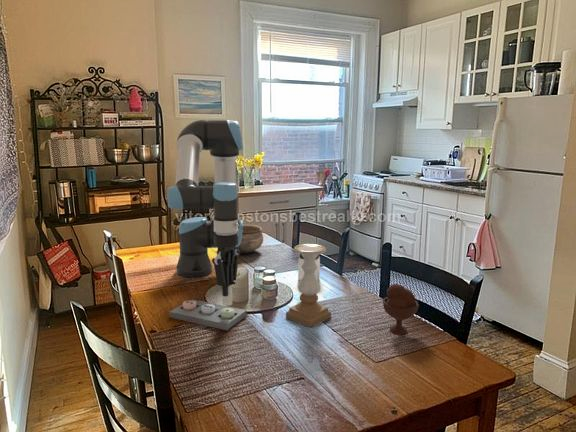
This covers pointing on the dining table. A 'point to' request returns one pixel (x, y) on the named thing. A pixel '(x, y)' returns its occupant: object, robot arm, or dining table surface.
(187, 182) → the robot arm
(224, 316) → the button one
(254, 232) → the cooking pot
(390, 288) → the ice cream bowl
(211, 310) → the button three
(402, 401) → the dining table surface
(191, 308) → the button two
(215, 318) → the keypad board
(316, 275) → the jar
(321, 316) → the candle holder
